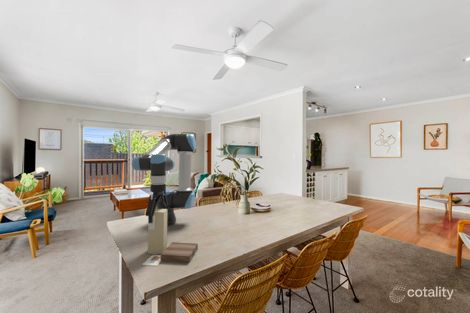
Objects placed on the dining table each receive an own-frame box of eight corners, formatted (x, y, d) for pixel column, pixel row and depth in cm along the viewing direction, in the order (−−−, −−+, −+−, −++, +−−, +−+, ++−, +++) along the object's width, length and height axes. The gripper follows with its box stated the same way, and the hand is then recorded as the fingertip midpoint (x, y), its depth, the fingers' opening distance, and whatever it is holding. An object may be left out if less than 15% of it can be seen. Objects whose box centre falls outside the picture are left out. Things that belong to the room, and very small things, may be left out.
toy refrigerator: (167, 247, 114) (167, 208, 114) (163, 253, 107) (163, 212, 107) (152, 247, 114) (152, 208, 114) (147, 253, 107) (147, 212, 106)
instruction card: (151, 255, 105) (151, 254, 105) (165, 256, 104) (165, 255, 104) (142, 265, 96) (142, 264, 96) (157, 266, 95) (157, 265, 95)
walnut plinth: (172, 247, 114) (172, 242, 114) (197, 249, 112) (197, 243, 112) (160, 260, 100) (160, 254, 100) (189, 262, 99) (189, 256, 98)
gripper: (161, 180, 123) (161, 217, 123) (137, 187, 98) (137, 233, 98) (174, 181, 122) (174, 217, 122) (153, 187, 97) (153, 233, 97)
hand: (157, 224), depth 110 cm, fingers open, 13 cm apart
